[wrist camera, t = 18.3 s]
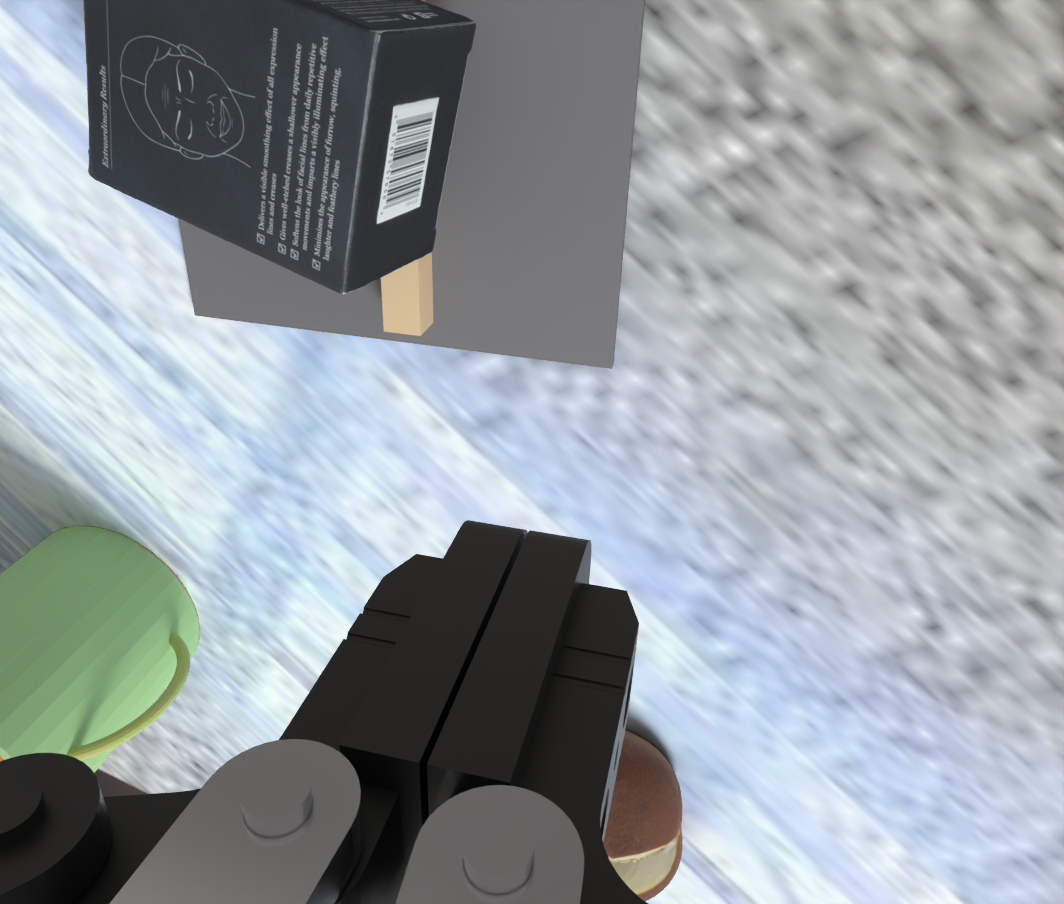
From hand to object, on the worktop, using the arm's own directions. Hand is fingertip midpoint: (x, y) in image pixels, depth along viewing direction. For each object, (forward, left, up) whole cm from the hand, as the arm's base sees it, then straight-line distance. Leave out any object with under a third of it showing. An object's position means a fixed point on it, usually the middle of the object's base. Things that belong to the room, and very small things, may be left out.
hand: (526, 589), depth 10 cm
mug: (+27, +25, -23) cm, 43 cm away
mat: (+11, -1, -23) cm, 26 cm away
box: (+8, -1, -18) cm, 19 cm away
